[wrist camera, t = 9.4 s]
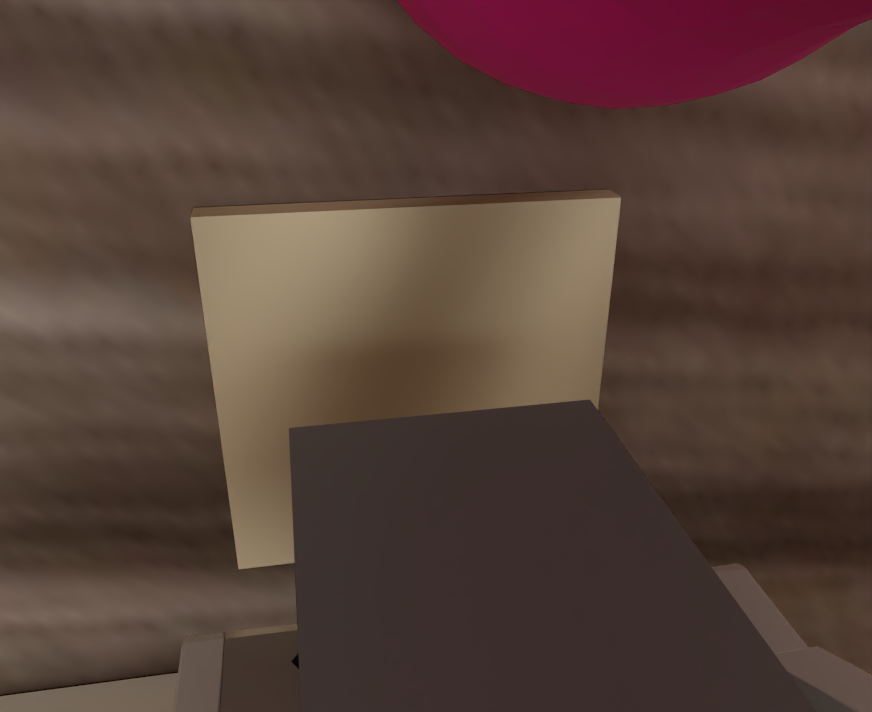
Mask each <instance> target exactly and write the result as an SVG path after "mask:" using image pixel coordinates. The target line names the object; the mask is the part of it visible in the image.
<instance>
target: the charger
mask: <svg viewBox="0 0 872 712" xmlns="http://www.w3.org/2000/svg"><path fill="white" fill-rule="evenodd" d="M289 444H290V467H291V490H292V514H293V537H294V560H295V583H296V606H297V629H298V652H299V676H300V699H301V712H816V710H815V709H814V708H813V706H812V705H811V704H810V702H809V701H808V699H807V698H806V697H805V695H804V694H803V693H802V691H801V690H800V688H799V687H798V686H797V684H796V683H795V681H794V680H793V679H792V677H791V676H790V675H789V673H788V672H787V670H786V669H785V668H784V666H783V665H782V664H781V662H780V661H779V659H778V658H777V657H776V655H775V654H774V652H773V651H772V650H771V648H770V647H769V646H768V644H767V643H766V641H765V640H764V639H763V637H762V636H761V635H760V633H759V632H758V630H757V629H756V628H755V626H754V625H753V624H752V622H751V621H750V619H749V618H748V617H747V615H746V614H745V612H744V611H743V610H742V608H741V607H740V606H739V604H738V603H737V601H736V600H735V599H734V597H733V596H732V595H731V593H730V592H729V590H728V589H727V588H726V586H725V585H724V583H723V582H722V581H721V579H720V578H719V577H718V575H717V574H716V572H715V571H714V570H713V568H712V567H711V566H710V564H709V563H708V561H707V560H706V559H705V557H704V556H703V555H702V553H701V552H700V550H699V549H698V548H697V546H696V545H695V543H694V542H693V541H692V539H691V538H690V537H689V535H688V534H687V532H686V531H685V530H684V528H683V527H682V526H681V524H680V523H679V521H678V520H677V519H676V517H675V516H674V514H673V513H672V512H671V510H670V509H669V508H668V506H667V505H666V503H665V502H664V501H663V499H662V498H661V497H660V495H659V494H658V492H657V491H656V490H655V488H654V487H653V486H652V484H651V483H650V481H649V480H648V479H647V477H646V476H645V474H644V473H643V472H642V470H641V469H640V468H639V466H638V465H637V463H636V462H635V461H634V459H633V458H632V457H631V455H630V454H629V452H628V451H627V450H626V448H625V447H624V445H623V444H622V443H621V441H620V440H619V439H618V437H617V436H616V434H615V433H614V432H613V430H612V429H611V428H610V426H609V425H608V423H607V422H606V421H605V419H604V418H603V417H602V415H601V414H600V412H599V411H598V410H597V408H596V407H595V405H594V404H593V403H592V401H591V400H579V401H569V402H558V403H548V404H537V405H526V406H516V407H505V408H495V409H484V410H474V411H463V412H452V413H442V414H431V415H421V416H410V417H399V418H389V419H378V420H368V421H357V422H346V423H336V424H325V425H315V426H304V427H293V428H289Z"/></svg>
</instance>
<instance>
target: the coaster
mask: <svg viewBox="0 0 872 712" xmlns="http://www.w3.org/2000/svg"><path fill="white" fill-rule="evenodd" d="M620 204H621V197H620V196H618V195H617V194H616V193H614V192H613V191H611V190H610V189H606V190H584V191H561V192H539V193H516V194H493V195H471V196H448V197H426V198H403V199H381V200H358V201H335V202H313V203H290V204H268V205H245V206H222V207H200V208H193V210H192V213H191V217H190V219H191V227H192V234H193V241H194V248H195V256H196V263H197V270H198V277H199V285H200V292H201V299H202V307H203V314H204V321H205V328H206V336H207V343H208V350H209V357H210V365H211V372H212V379H213V387H214V394H215V401H216V408H217V416H218V423H219V430H220V438H221V445H222V452H223V459H224V467H225V474H226V481H227V488H228V496H229V503H230V510H231V518H232V525H233V532H234V539H235V547H236V554H237V561H238V569H245V568H254V567H263V566H271V565H280V564H289V563H295V560H294V537H293V514H292V490H291V467H290V444H289V428H293V427H304V426H315V425H325V424H336V423H346V422H357V421H368V420H378V419H389V418H399V417H410V416H421V415H431V414H442V413H452V412H463V411H474V410H484V409H495V408H505V407H516V406H526V405H537V404H548V403H558V402H569V401H579V400H591V401H592V403H593V404H594V405H595V407H596V408H597V410H598V405H599V396H600V387H601V378H602V368H603V359H604V350H605V341H606V332H607V323H608V314H609V305H610V295H611V286H612V277H613V268H614V259H615V250H616V241H617V231H618V222H619V213H620Z"/></svg>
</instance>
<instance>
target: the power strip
mask: <svg viewBox="0 0 872 712" xmlns="http://www.w3.org/2000/svg"><path fill="white" fill-rule="evenodd" d="M177 677H178V673H172V674H165V675H157V676H149V677H142V678H134V679H127V680H119V681H112V682H104V683H97V684H89V685H81V686H74V687H66V688H59V689H51V690H44V691H36V692H28V693H21V694H13V695H6V696H0V712H173V708H174V701H175V693H176V685H177Z"/></svg>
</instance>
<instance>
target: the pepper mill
mask: <svg viewBox="0 0 872 712" xmlns="http://www.w3.org/2000/svg"><path fill="white" fill-rule="evenodd" d="M397 1H398V2H399V3H400V5H401V6H402V7H403V8H404V9H405V11H406V12H407V13H408V14H409V16H410V17H411V18H412V19H413V20H414V22H415V23H416V24H418V25H419V26H420V27H421V28H422V29H423V30H425V31H426V32H427V33H428V34H429V35H430V36H432V37H433V38H434V39H435V40H436V41H437V42H439V43H440V44H441V45H442V46H443V47H444V48H446V49H447V50H448V51H449V52H450V53H451V54H453V55H454V56H455V57H456V58H457V59H458V60H460V61H462V62H463V63H465V64H467V65H469V66H471V67H473V68H475V69H477V70H479V71H481V72H483V73H485V74H487V75H488V76H490V77H492V78H494V79H496V80H498V81H500V82H502V83H504V84H506V85H508V86H511V87H515V88H518V89H521V90H525V91H528V92H531V93H535V94H538V95H541V96H545V97H548V98H553V99H557V100H561V101H565V102H569V103H573V104H581V105H589V106H597V107H604V108H612V109H620V108H635V107H651V106H667V105H671V104H676V103H680V102H685V101H689V100H694V99H698V98H703V97H707V96H712V95H716V94H719V93H722V92H726V91H729V90H732V89H735V88H738V87H741V86H744V85H747V84H750V83H753V82H756V81H759V80H762V79H764V78H766V77H768V76H770V75H771V74H773V73H775V72H777V71H779V70H781V69H783V68H785V67H787V66H789V65H791V64H793V63H795V62H797V61H799V60H801V59H803V58H804V57H806V56H807V55H809V54H811V53H812V52H814V51H815V50H817V49H819V48H820V47H822V46H823V45H825V44H827V43H828V42H830V41H831V40H833V39H835V38H836V37H838V36H839V35H841V34H843V33H844V32H846V31H847V30H849V29H851V28H853V27H855V26H857V25H859V24H861V23H863V22H865V21H868V20H870V19H872V0H397Z"/></svg>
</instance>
